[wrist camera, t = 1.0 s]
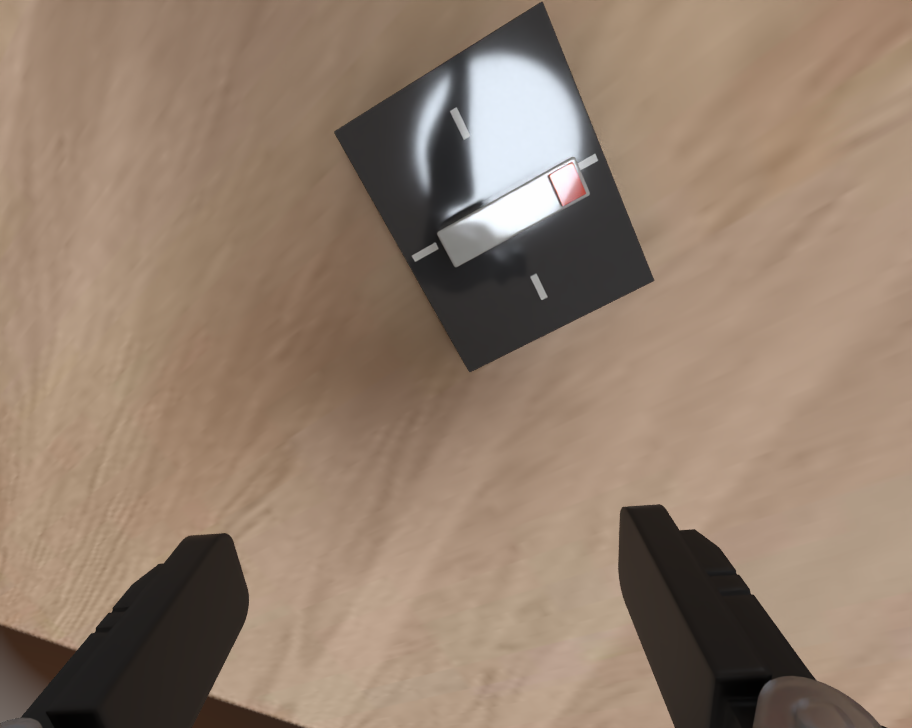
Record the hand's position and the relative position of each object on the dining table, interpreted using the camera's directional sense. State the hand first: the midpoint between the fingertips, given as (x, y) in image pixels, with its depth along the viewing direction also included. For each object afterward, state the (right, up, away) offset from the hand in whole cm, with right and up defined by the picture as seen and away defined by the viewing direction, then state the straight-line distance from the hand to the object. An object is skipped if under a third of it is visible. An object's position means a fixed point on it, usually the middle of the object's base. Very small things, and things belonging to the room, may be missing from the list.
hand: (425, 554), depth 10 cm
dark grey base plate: (+3, +13, +17) cm, 21 cm away
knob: (+3, +12, +14) cm, 19 cm away
